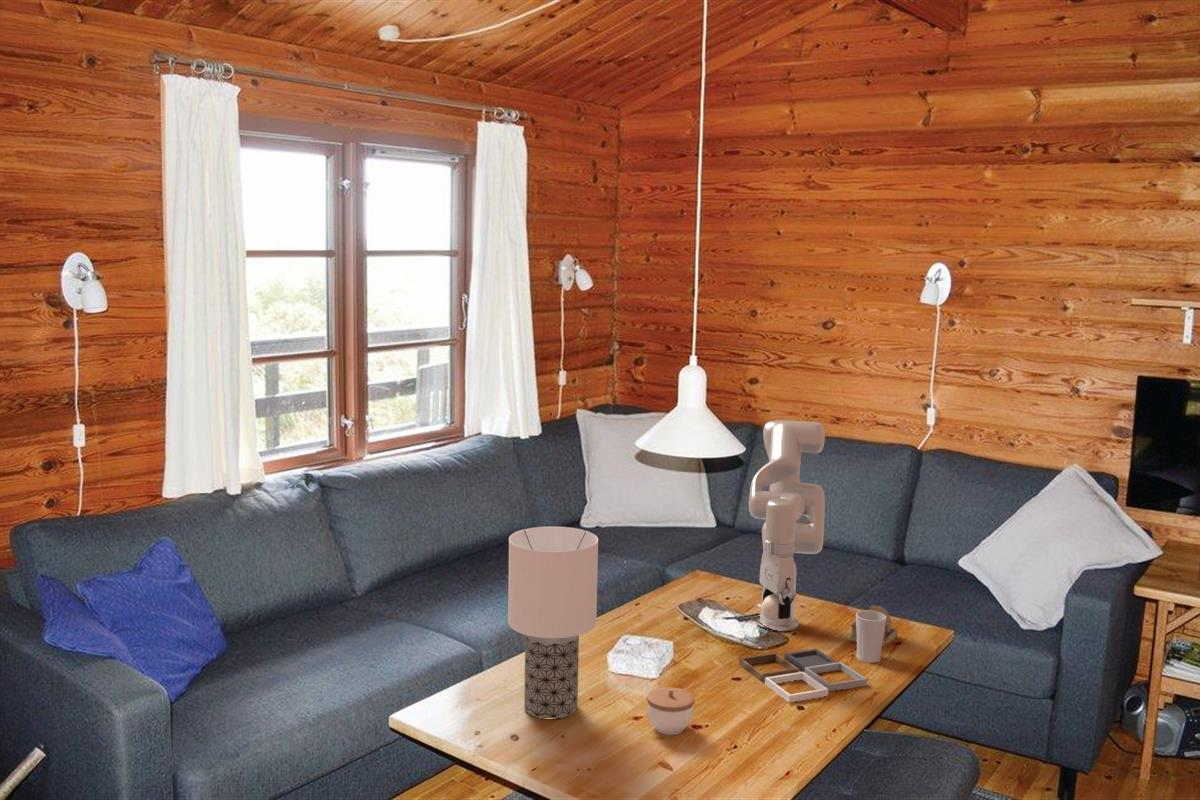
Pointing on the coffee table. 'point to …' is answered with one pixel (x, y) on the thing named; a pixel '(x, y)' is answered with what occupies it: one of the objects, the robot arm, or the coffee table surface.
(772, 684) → the white frame
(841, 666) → the grey frame
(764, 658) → the walnut frame
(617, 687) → the coffee table surface
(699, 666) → the coffee table surface
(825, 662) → the dark grey tray
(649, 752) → the coffee table surface
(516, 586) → the lamp
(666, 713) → the lidded jar
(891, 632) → the ceramic model
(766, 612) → the beige ball
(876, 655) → the cup
